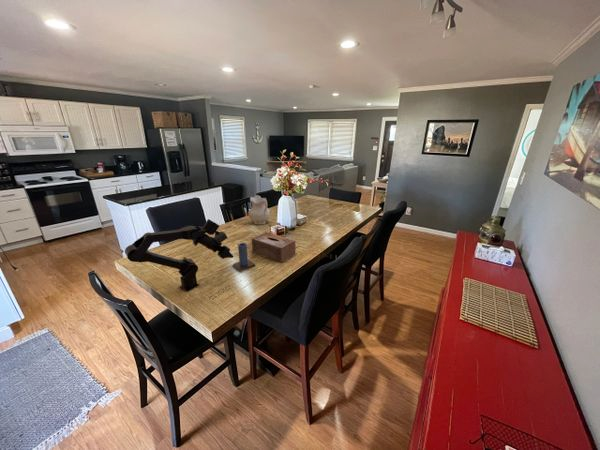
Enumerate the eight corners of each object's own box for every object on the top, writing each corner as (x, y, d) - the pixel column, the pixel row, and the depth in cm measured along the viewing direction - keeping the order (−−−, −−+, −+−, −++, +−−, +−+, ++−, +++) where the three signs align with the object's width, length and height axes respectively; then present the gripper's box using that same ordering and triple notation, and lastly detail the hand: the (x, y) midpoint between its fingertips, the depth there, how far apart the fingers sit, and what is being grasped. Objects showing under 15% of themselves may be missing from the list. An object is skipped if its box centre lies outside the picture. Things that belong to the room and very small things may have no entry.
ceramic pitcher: (276, 223, 221) (276, 196, 214) (262, 227, 205) (262, 199, 198) (258, 219, 232) (258, 193, 225) (244, 223, 216) (243, 196, 209)
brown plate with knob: (240, 271, 138) (239, 265, 137) (232, 265, 145) (232, 259, 143) (255, 265, 145) (254, 259, 143) (247, 260, 151) (246, 254, 149)
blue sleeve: (245, 266, 142) (244, 246, 137) (238, 265, 143) (236, 245, 138) (249, 262, 146) (247, 243, 141) (242, 261, 147) (240, 242, 142)
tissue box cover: (252, 251, 163) (251, 238, 159) (266, 244, 174) (266, 231, 170) (281, 262, 149) (281, 248, 145) (295, 254, 160) (295, 240, 156)
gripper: (224, 233, 120) (245, 247, 131) (209, 224, 133) (229, 237, 144) (211, 252, 118) (233, 264, 128) (197, 241, 131) (218, 253, 141)
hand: (229, 254), depth 136 cm, fingers open, 9 cm apart
